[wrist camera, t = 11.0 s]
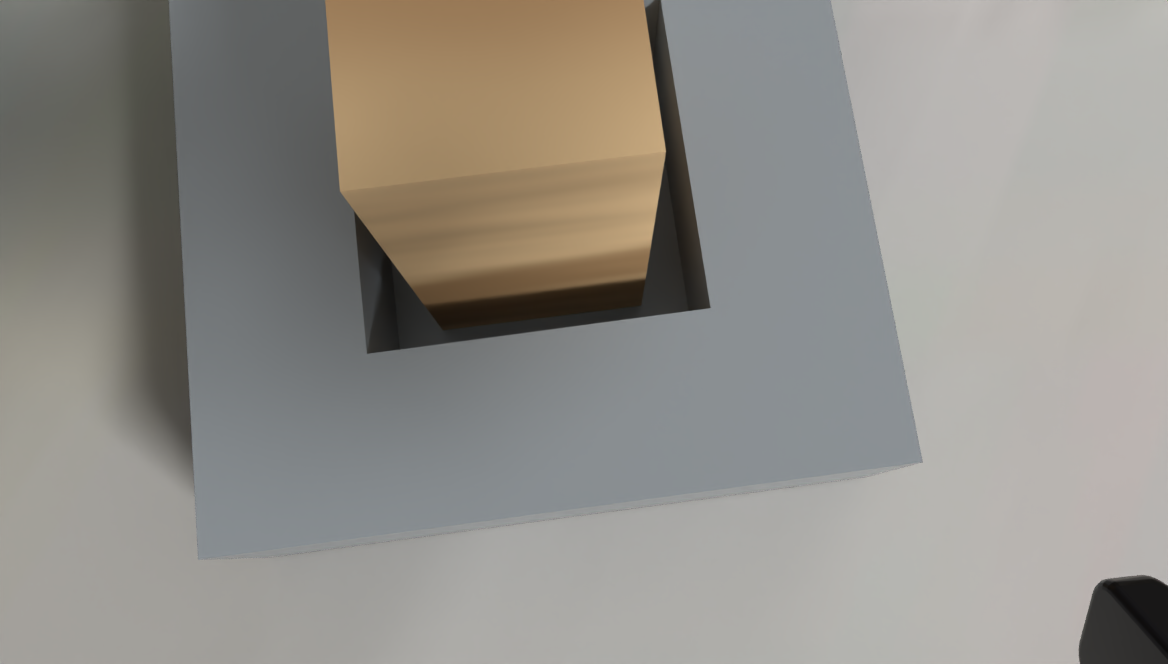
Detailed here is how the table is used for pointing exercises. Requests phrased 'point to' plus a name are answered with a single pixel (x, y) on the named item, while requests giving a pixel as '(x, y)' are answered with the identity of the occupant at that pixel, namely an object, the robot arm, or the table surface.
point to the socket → (538, 346)
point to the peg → (501, 150)
